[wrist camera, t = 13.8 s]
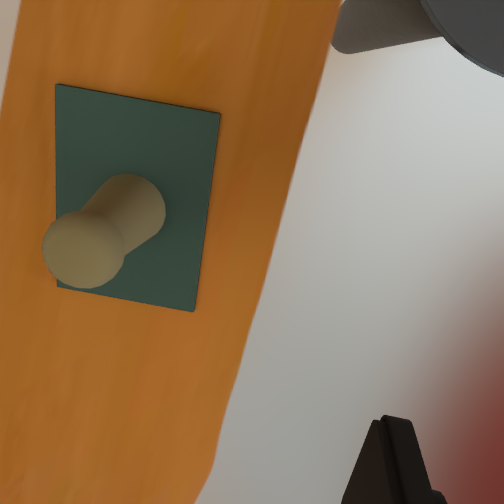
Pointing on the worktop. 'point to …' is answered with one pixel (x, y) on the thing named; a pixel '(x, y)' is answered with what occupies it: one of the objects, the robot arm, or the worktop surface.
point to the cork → (103, 231)
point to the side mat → (149, 167)
